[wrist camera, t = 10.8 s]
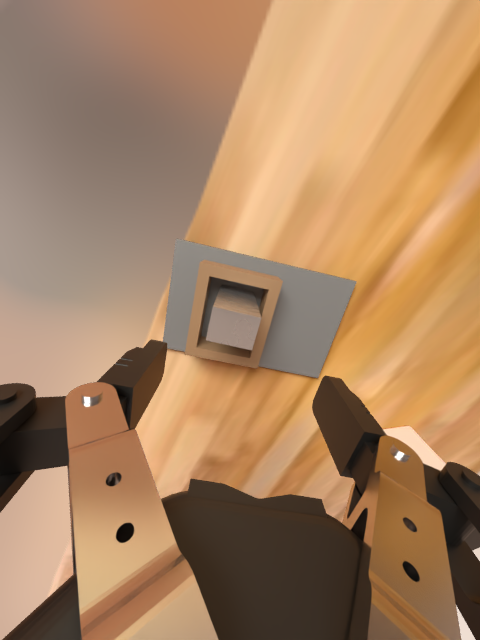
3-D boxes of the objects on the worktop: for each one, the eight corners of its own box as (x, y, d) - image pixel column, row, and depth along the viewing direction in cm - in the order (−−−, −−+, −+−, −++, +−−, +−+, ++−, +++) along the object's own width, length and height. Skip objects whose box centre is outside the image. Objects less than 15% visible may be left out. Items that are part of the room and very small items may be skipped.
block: (221, 284, 27) (212, 306, 18) (253, 291, 27) (261, 317, 18) (211, 328, 29) (199, 370, 20) (241, 335, 29) (243, 379, 20)
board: (177, 238, 26) (167, 238, 22) (353, 280, 28) (372, 287, 24) (164, 344, 31) (153, 359, 27) (316, 374, 32) (326, 393, 28)
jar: (427, 448, 37) (510, 538, 26) (383, 471, 39) (443, 565, 28) (403, 415, 35) (483, 498, 24) (358, 441, 37) (411, 530, 25)
